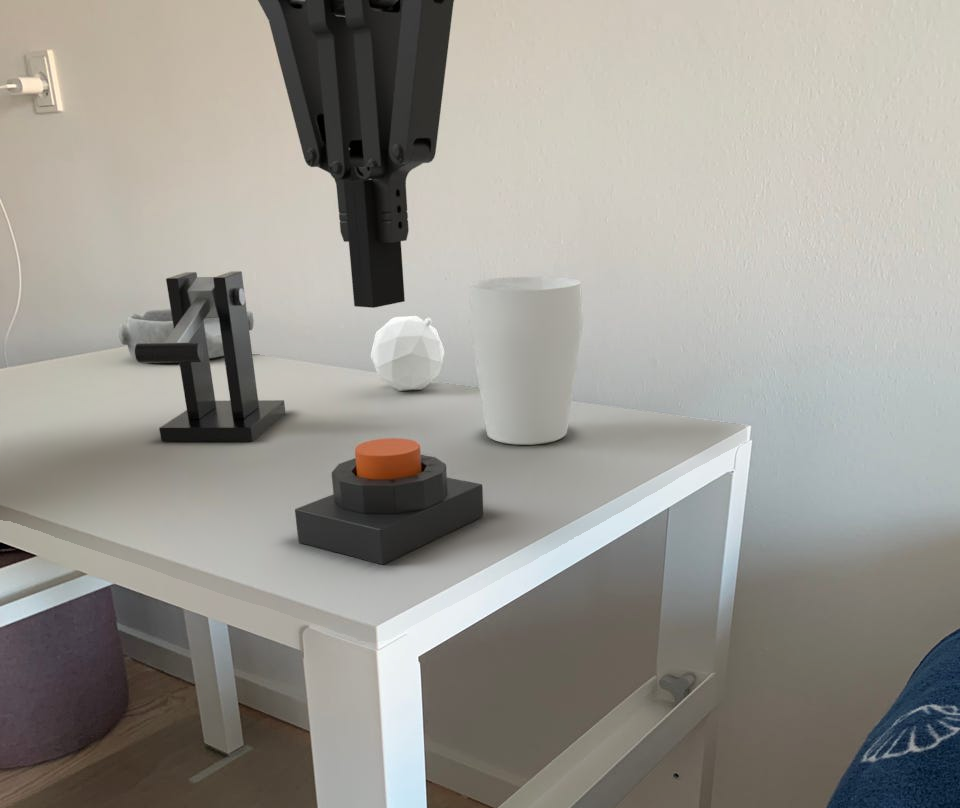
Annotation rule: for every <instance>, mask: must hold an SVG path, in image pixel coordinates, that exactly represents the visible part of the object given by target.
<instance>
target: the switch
mask: <svg viewBox="0 0 960 808" xmlns="http://www.w3.org/2000/svg"><path fill="white" fill-rule="evenodd" d="M214 277H215V276H197V278H196V279H195V281H194V282H193V283H192V285H191V286H190V287H189V289H188V290H187V293H188V297H189V301H190V305H191V306H190V307H189V309H188V310H187V311H186V313H185V314H184V316H183V317H182V318H181V320H180V321H179V323H178V324H177V326H176V327H175V328H174V330H173V331H172V333H171V334H170V335H169V337H168V338H167V340H166V341H165V342H164V343H138V344H136V346H135V357H136V358H135V359H136V361H137V362H138V363H140V364H144V363H145V364H149V363H150V364H151V363H157V364H158V363H179V362H202V361H203V359H204V349H203V346H202V344H201V343H189V341H190V340H191V338H192V337H193V335H194V334H195V332H196V331H197V329H198V328H199V326H200V325H201V323H202V322H203V320H204V319H205V318H219V316H218V309H217V301H216V294H215V287H214V280H213V278H214Z"/></svg>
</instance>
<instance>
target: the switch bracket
mask: <svg viewBox="0 0 960 808" xmlns="http://www.w3.org/2000/svg"><path fill="white" fill-rule="evenodd" d="M197 277H198V273H197V272H196V271H190V272H189V271H188V272H187V271H186V272H182V273H179V274H176V275H173V276H169V277H167V278H166V279H165V282H166V287H167V293H168V294H167V295H168V300H169V306H170V309H171V314H172V320H173V326H174V328H175V327H176V326H177V324H178V323H179V321H180V320H181V318H182V317H183V316H184V314H185V313H186V311H187V310H188V309H189V307H190V306H191V305H190V301H189V297H188V293H187V290H188V289H189V287H190V286H191V285H192V283H193V282H194V281H195V279H196V278H197ZM213 277H214V278H213V280H214V287H215V294H216V301H217V309H218V316H219V323H220V330H221V337H222V344H223V351H224V356H223V358H224V366H225V371H226V379H227V386H228V392H229V400H216V396H215V390H214V389H215V388H214V383H213V376H212V368H211V361H210V359H209V355H208V348H207V341H206V334H205V327H204V320H203V322H202V323H201V325H200V326H199V328H198V329H197V331H196V332H195V334H194V335H193V337H192V338H191V340H190V341H189V343H201V344H202V346H203V349H204V359H203V361H202V362H178V363H179V370H180V376H181V382H182V387H183V392H184V393H183V394H184V400H185V407H186V410H184V411H183V412H182V413H180V414H178V415H177V416H175V417H173V418H172V419H171V420H169V421H168V422H166V423H164V424H163V425H161V426H160V427H158V429H159V434H160V435H159V436H160V441H161V442H165V443H167V442H168V443H169V442H170V443H171V442H172V443H173V442H174V443H176V442H177V443H178V442H180V443H181V442H182V443H184V442H185V443H186V442H189V443H191V442H193V443H195V442H196V443H197V442H198V443H199V442H201V443H202V442H204V443H205V442H206V443H208V442H211V443H212V442H214V443H215V442H217V443H218V442H222V443H223V442H224V443H225V442H228V443H229V442H230V443H231V442H234V443H235V442H240V443H241V442H242V443H243V442H244V443H245V442H249V443H250V442H254V441H255V440H256V439H257V438H258V437H260V436H261V435H263V433H264V432H265V431H266V430H267V429H269V428H270V427H272V425H273V424H274V423H276V422H277V421H278V420H279V419H280V418H282V417H283V416H284V415H285V414H286V404H285V400H284V399H281V400H280V399H279V400H278V399H273V400H271V399H269V400H267V399H266V400H259V397H258V387H257V380H256V374H255V372H256V371H255V365H254V358H253V357H254V356H253V350H252V348H253V347H252V341H251V333H250V330H249V325H248V317H247V312H248V310H247V302H246V295H245V288H244V287H245V285H244V278H243V272H242V270H241V271H240V270H239V271H236V270H235V271H229V272H226V273H223V274H220V275H216V276H213Z"/></svg>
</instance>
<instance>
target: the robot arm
mask: <svg viewBox="0 0 960 808" xmlns="http://www.w3.org/2000/svg"><path fill="white" fill-rule="evenodd" d="M257 2H258V4H259V5H260V7H261V9H262V11H263V13H264V15H265V16H266V18H267V20H268V23H269V27H270V31H271V35H272V39H273V43H274V46H275V51H276V54H277V58H278V62H279V67H280V69H281V74H282V79H283V82H284V86H285V89H286V94H287V97H288V100H289V101H288V102H289V104H290V109H291V113H292V116H293V120H294V125H295V128H296V131H297V136H298V140H299V143H300V147H301V152H302V154H303V158H304V161H305V163H306V165H307V166H308V167H311V168H319V169H320V170H323V171H325V172H327V173H329V174H330V176H331V177H332V178H333V179H334V182H335V186H336V197H337V209H338V219H339V227H340V228H339V231H340V235H341V237H342V240H343V242H344V243H345V242H346V243H348V248H349V249H348V250H349V260H350V273H351V283H352V295H353V305H354V307H356V308H369V309H371V308H373V309H375V308H380V307H384V306H390V305H395V304H399V303H403V302H406V299H405V285H404V284H405V283H404V272H403V271H404V270H403V269H404V268H403V254H402V242H405V241H407V239H408V236H409V230H410V229H409V220H408V219H409V215H408V213H409V212H408V198H407V197H408V196H407V183H406V182H407V178H408V176H409V174H410V172H411V171H412V170H415V168H417V167H419V166H421V165H423V164H429V163H432V162H433V160H434V159H435V156H436V153H437V152H436V151H437V143H438V136H439V128H440V119H441V112H442V111H441V110H442V103H443V102H442V101H443V94H444V87H445V77H446V71H447V62H448V61H447V60H448V52H449V43H450V35H451V28H452V27H451V26H452V18H453V11H454V10H453V9H454V2H455V0H257Z"/></svg>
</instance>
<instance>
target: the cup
mask: <svg viewBox="0 0 960 808" xmlns="http://www.w3.org/2000/svg"><path fill="white" fill-rule="evenodd" d="M583 322H584V315H583V299H582V281H581V280H579V279H575V278H571V277H563V276H562V277H560V276H513V277H501V278H500V277H499V278H497V277H496V278H490V279H483V280H478V281H475V282H472V283H470V284H469V318H468V325H469V326H468V328H469V335H470V340H471V346H472V352H473V353H472V354H473V359H474V364H475V370H476V376H477V377H476V378H477V383H478V387H479V393H480V395H479V396H480V400H481V404H482V405H481V406H482V412H483V418H484V424H485V429H486V435H487V437H488V438H490V439H491V440H493V441H495V442H498V443H502V444H506V445H507V444H508V445H515V446H516V445H517V446H530V445H531V446H532V445H542V444H549V443H553V442H555V441H559V440H561V439H563V438H564V437H565V436H566V435H567V433H568V427H569V420H570V414H571V408H572V407H571V406H572V400H573V393H574V387H575V380H576V373H577V366H578V358H579V354H580V346H581V345H580V344H581V338H582V333H583V332H582V331H583V324H584V323H583Z"/></svg>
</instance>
